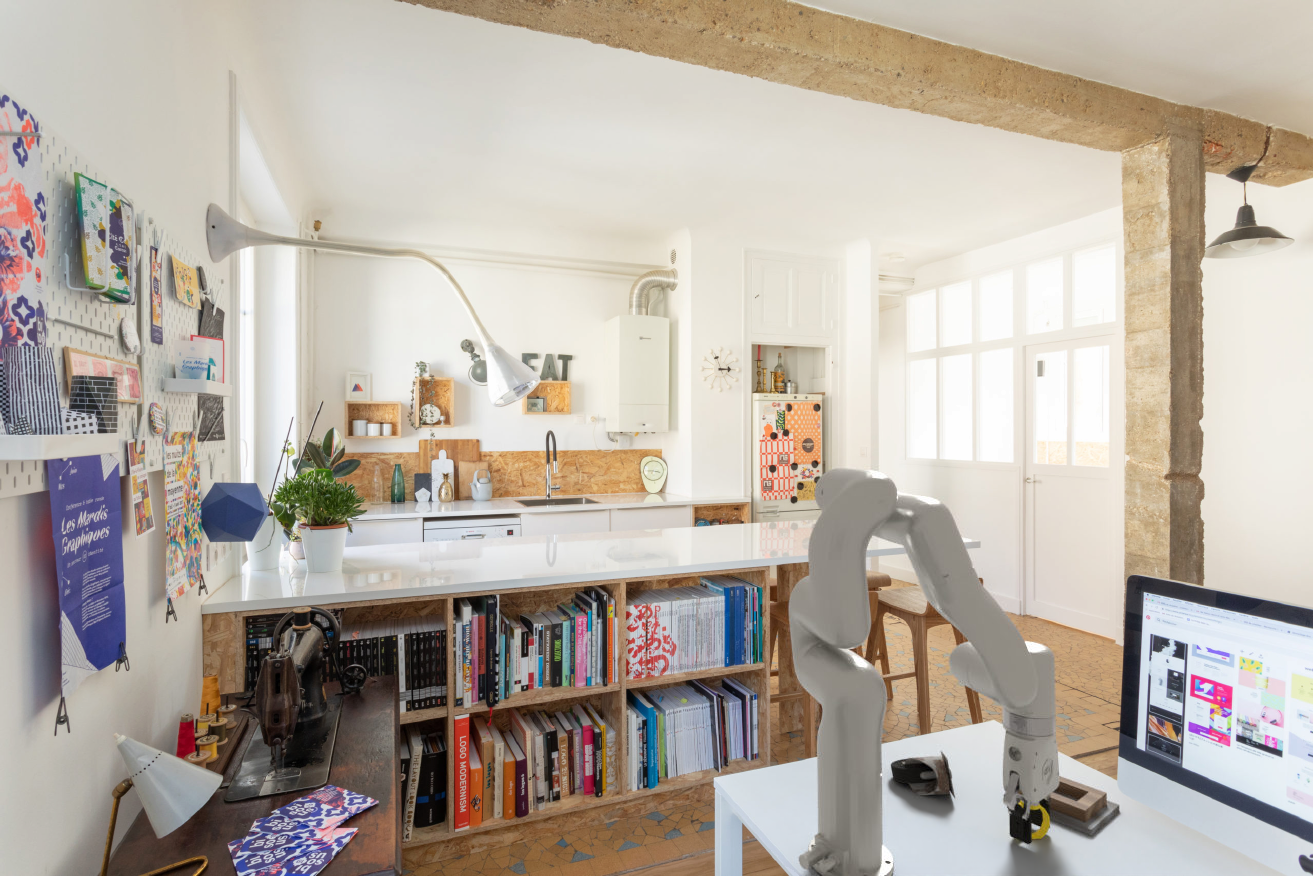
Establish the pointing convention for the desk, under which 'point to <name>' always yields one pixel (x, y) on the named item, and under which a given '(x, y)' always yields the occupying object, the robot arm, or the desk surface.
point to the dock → (1080, 806)
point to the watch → (1045, 823)
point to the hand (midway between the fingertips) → (1030, 831)
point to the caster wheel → (924, 774)
